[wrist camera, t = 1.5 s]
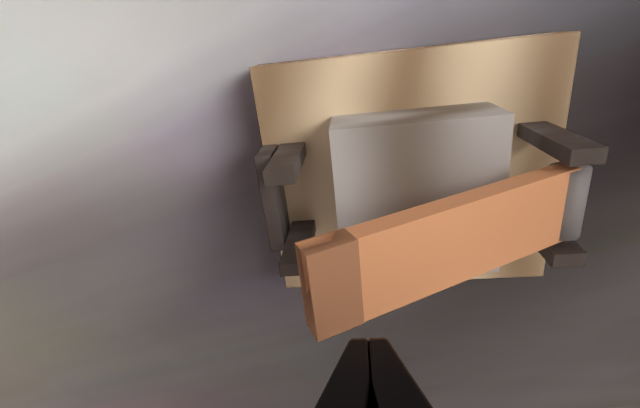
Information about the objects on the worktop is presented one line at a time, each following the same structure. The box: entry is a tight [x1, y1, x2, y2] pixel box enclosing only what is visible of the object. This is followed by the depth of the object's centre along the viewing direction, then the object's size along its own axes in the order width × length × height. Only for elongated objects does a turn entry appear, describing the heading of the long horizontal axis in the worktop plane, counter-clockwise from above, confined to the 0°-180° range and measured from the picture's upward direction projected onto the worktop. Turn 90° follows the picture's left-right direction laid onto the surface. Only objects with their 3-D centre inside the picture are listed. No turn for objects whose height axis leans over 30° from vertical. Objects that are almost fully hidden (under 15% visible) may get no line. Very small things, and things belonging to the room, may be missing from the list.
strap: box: [295, 162, 593, 342], centre depth 13 cm, size 12×3×1 cm, turn 97°
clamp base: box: [249, 31, 609, 287], centre depth 17 cm, size 14×12×6 cm
